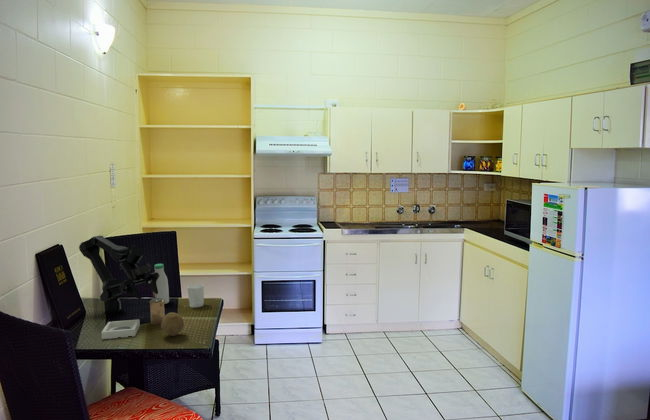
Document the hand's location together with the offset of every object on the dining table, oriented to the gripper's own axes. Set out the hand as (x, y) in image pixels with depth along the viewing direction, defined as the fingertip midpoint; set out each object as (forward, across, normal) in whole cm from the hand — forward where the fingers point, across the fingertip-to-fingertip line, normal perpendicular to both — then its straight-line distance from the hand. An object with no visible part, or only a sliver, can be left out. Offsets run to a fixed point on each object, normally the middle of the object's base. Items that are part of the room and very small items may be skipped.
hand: (149, 296), depth 228 cm
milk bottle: (-5, +21, +21) cm, 30 cm away
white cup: (+10, +26, +7) cm, 29 cm away
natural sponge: (+25, -8, -8) cm, 28 cm away
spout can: (+12, 0, +5) cm, 13 cm away
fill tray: (+9, -16, +7) cm, 20 cm away
